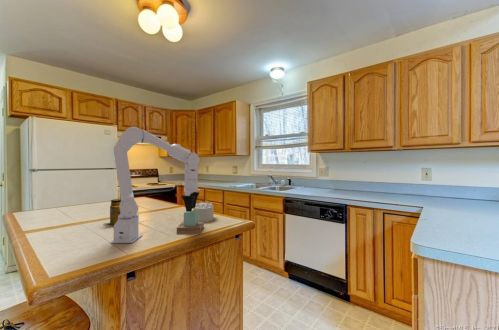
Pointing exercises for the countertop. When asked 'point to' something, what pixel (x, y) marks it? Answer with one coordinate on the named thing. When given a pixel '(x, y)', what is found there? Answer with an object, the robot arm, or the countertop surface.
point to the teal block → (191, 218)
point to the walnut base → (190, 228)
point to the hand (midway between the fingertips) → (190, 209)
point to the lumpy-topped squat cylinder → (204, 212)
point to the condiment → (114, 212)
